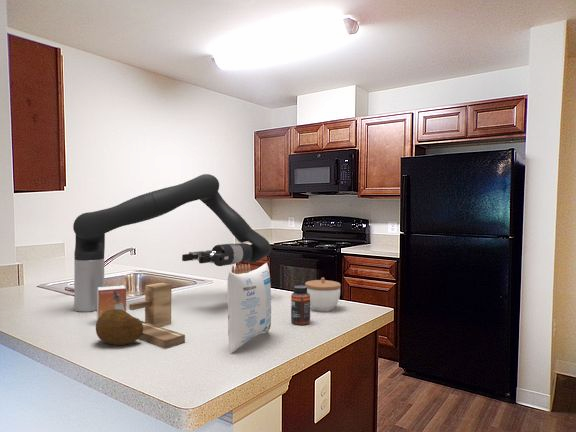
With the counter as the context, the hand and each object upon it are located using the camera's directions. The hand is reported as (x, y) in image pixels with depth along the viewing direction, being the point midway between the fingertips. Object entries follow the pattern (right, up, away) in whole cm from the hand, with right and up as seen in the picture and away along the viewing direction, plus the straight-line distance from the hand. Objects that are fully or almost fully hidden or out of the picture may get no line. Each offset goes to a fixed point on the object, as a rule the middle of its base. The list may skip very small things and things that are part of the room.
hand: (191, 259), depth 129 cm
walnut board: (-8, -19, -19) cm, 28 cm away
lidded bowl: (+44, -19, +12) cm, 49 cm away
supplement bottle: (+35, -19, -6) cm, 41 cm away
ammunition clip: (+12, -18, +36) cm, 42 cm away
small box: (-23, -19, -6) cm, 30 cm away
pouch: (+21, -20, -24) cm, 38 cm away
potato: (-13, -19, -26) cm, 35 cm away
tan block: (-9, -19, -12) cm, 24 cm away
